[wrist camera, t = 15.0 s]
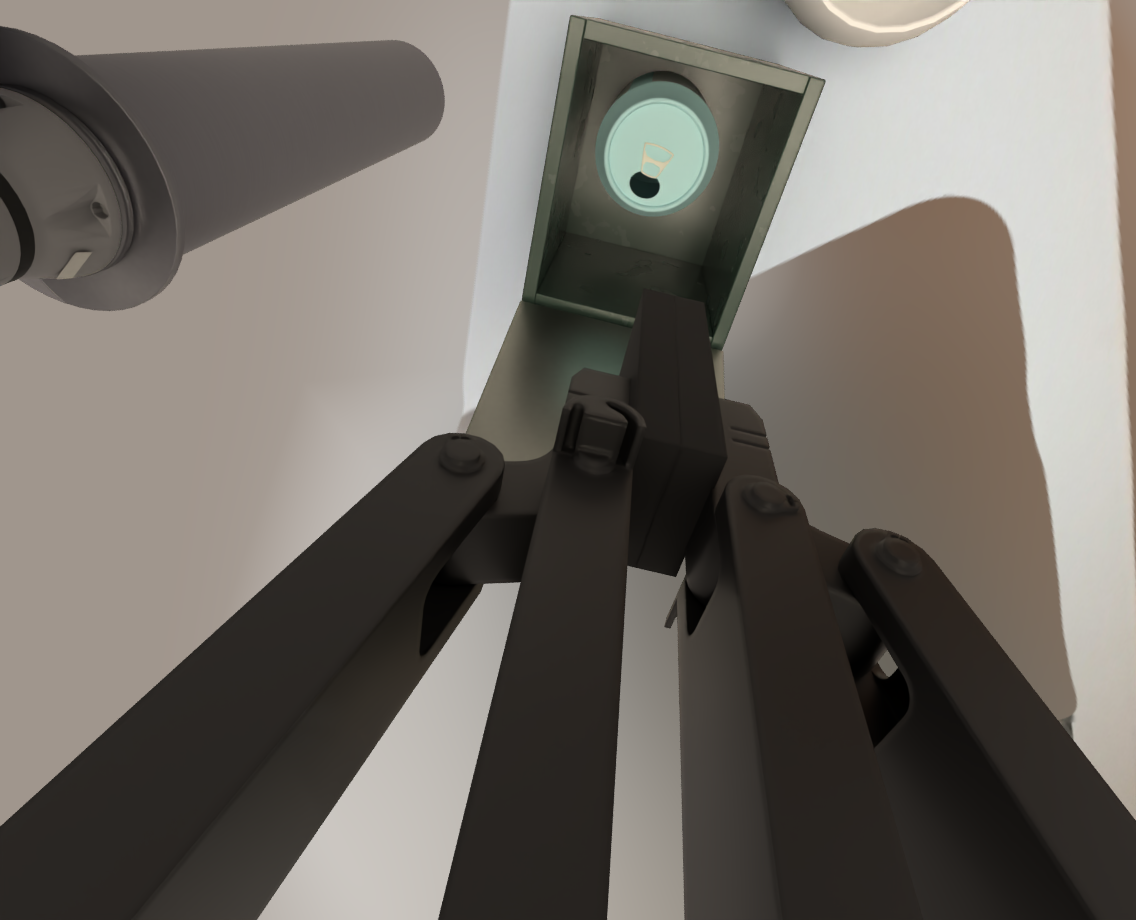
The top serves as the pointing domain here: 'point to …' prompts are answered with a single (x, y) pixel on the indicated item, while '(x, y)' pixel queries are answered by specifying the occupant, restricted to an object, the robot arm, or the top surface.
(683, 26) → the top surface
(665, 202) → the can
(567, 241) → the bin
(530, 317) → the bin lid
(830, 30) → the cup
